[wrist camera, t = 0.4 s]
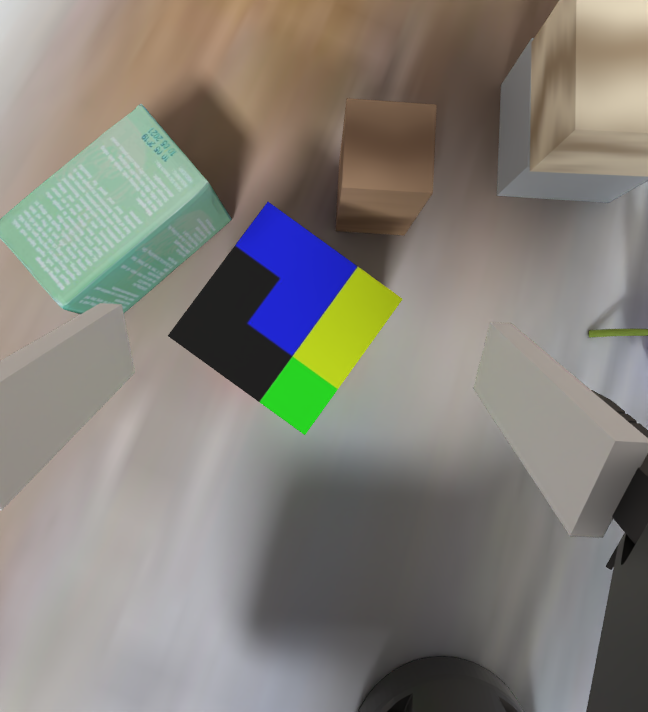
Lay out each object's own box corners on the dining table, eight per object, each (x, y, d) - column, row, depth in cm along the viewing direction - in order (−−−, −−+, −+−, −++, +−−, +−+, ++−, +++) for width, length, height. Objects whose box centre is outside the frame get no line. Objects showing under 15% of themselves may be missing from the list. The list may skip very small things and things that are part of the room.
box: (56, 259, 32) (-20, 227, 25) (178, 158, 33) (140, 97, 25) (114, 324, 32) (55, 311, 25) (234, 222, 33) (212, 179, 25)
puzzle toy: (282, 252, 33) (267, 201, 23) (376, 320, 33) (402, 299, 23) (213, 345, 32) (167, 335, 22) (308, 414, 32) (304, 435, 22)
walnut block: (404, 235, 33) (432, 193, 25) (335, 231, 33) (342, 187, 25) (407, 167, 33) (436, 104, 25) (339, 163, 33) (346, 98, 25)
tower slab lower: (606, 203, 34) (657, 175, 29) (495, 196, 34) (527, 166, 29) (609, 94, 34) (660, 47, 29) (499, 86, 34) (531, 37, 29)
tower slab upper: (660, 177, 29) (732, 136, 24) (529, 171, 29) (575, 129, 24) (660, 49, 29) (731, -18, 24) (531, 42, 29) (576, -26, 24)
